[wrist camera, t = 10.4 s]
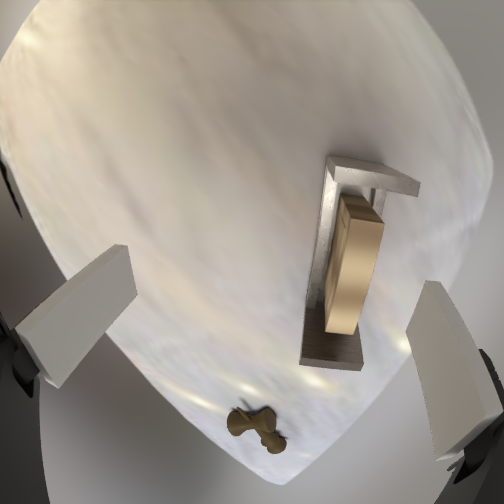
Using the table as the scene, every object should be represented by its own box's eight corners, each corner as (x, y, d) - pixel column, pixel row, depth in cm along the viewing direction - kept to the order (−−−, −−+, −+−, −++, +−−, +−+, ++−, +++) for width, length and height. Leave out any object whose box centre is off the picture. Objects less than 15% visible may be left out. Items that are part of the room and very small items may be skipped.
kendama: (262, 438, 59) (220, 398, 53) (297, 434, 56) (260, 392, 49) (258, 457, 54) (213, 420, 47) (295, 454, 50) (256, 417, 44)
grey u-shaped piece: (326, 154, 30) (335, 165, 19) (383, 164, 29) (420, 182, 18) (305, 303, 38) (298, 364, 28) (352, 309, 37) (360, 371, 27)
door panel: (338, 192, 30) (349, 218, 22) (365, 197, 30) (385, 224, 21) (323, 282, 36) (324, 331, 27) (346, 285, 35) (354, 334, 26)
